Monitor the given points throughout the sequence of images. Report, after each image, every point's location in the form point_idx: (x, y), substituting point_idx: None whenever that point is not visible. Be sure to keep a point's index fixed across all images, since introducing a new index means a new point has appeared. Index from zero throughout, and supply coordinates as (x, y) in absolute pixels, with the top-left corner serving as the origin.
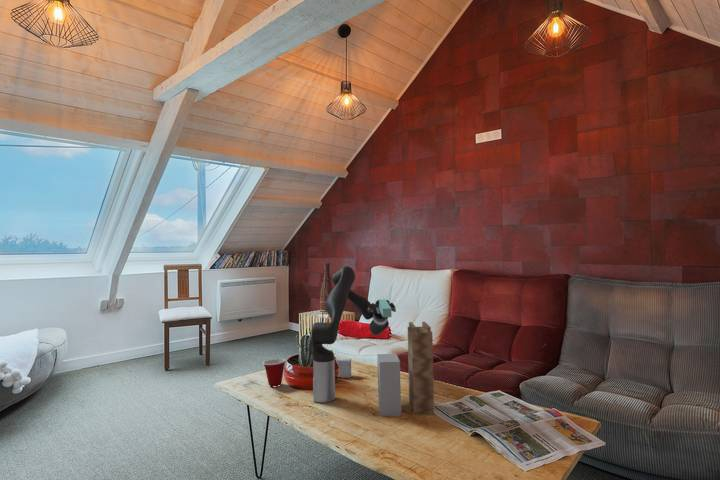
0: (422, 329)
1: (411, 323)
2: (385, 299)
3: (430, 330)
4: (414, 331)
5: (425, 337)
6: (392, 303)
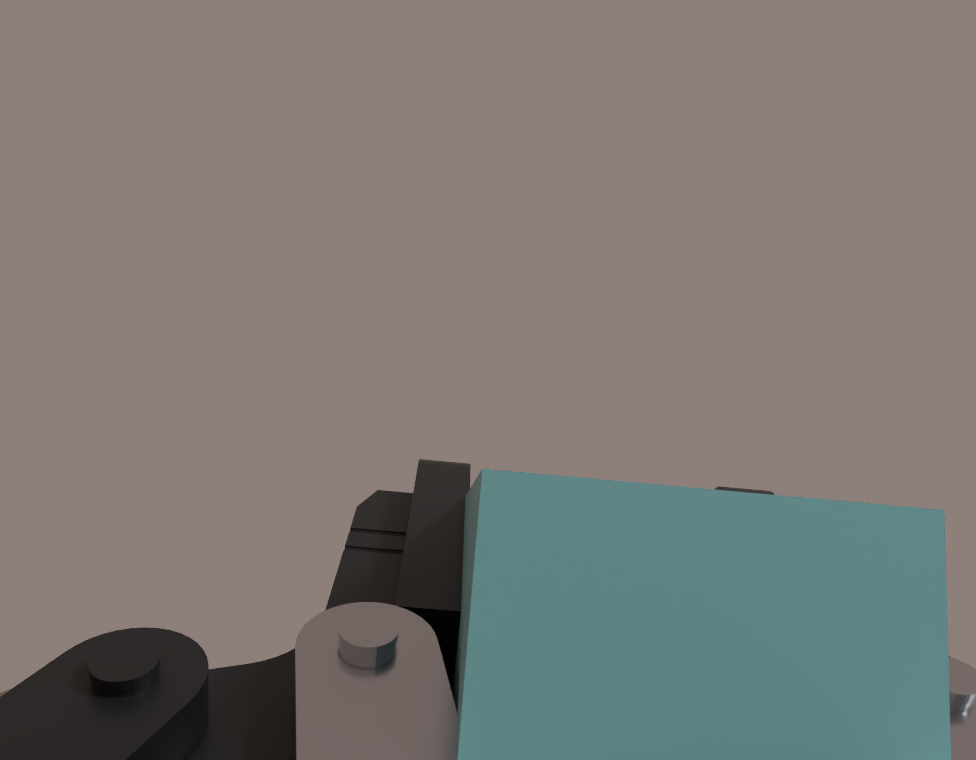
0: None
1: None
2: (492, 472)
3: None
4: None
5: None
6: (80, 670)
